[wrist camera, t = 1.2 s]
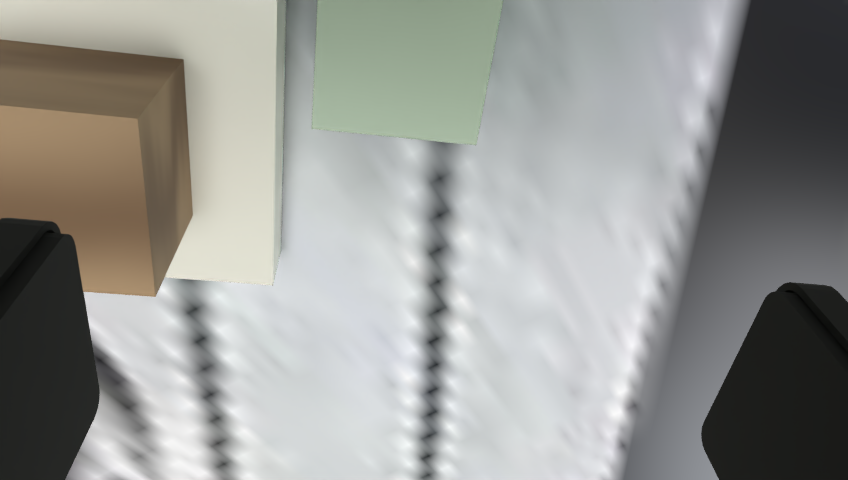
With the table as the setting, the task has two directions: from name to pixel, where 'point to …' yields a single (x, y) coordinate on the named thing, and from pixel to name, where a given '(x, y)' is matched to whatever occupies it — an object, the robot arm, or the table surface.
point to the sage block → (404, 67)
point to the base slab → (200, 111)
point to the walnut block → (98, 157)
